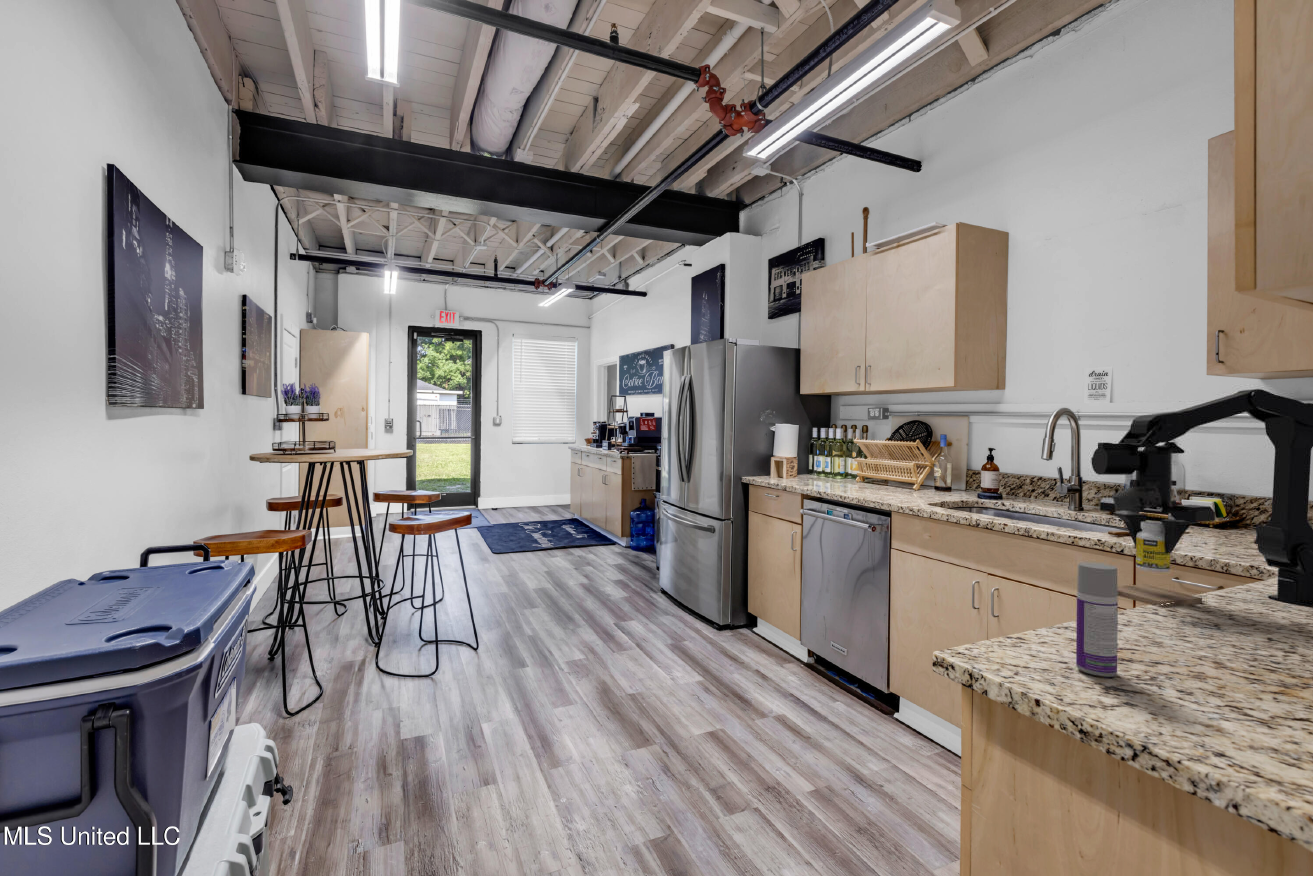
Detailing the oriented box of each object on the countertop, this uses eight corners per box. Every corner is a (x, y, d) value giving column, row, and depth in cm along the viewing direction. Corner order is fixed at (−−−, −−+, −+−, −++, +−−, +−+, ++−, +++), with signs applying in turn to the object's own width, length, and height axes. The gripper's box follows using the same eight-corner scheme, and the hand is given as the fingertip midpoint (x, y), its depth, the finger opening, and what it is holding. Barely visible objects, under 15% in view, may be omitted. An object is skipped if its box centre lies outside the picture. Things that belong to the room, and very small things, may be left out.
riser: (1144, 591, 128) (1144, 584, 128) (1201, 605, 117) (1202, 598, 117) (1104, 594, 125) (1104, 587, 125) (1160, 609, 114) (1160, 601, 114)
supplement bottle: (1139, 570, 120) (1139, 523, 120) (1133, 565, 125) (1133, 520, 125) (1174, 573, 117) (1174, 525, 117) (1165, 568, 122) (1165, 521, 122)
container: (1077, 661, 87) (1078, 560, 87) (1117, 669, 84) (1118, 565, 84) (1074, 670, 83) (1075, 566, 83) (1116, 679, 80) (1117, 571, 80)
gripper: (1079, 473, 128) (1079, 544, 128) (1174, 479, 110) (1173, 562, 110) (1119, 472, 131) (1118, 541, 131) (1217, 478, 113) (1216, 558, 113)
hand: (1153, 550), depth 121 cm, fingers closed on supplement bottle, 5 cm apart
